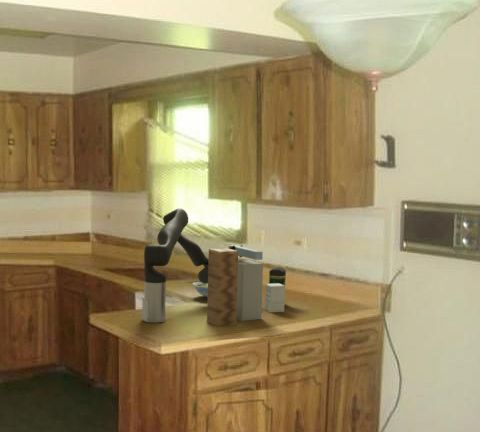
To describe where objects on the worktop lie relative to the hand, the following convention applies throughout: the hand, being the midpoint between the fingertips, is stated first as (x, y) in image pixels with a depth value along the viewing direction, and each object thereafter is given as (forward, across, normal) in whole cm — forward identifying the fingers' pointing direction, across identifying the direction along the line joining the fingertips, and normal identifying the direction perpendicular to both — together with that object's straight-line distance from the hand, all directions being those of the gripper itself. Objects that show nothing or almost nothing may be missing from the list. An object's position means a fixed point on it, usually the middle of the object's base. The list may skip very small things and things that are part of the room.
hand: (238, 247), depth 336 cm
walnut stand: (-3, -16, +34) cm, 38 cm away
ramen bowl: (-50, +10, +8) cm, 51 cm away
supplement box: (-15, +20, +28) cm, 37 cm away
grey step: (-9, 0, +31) cm, 32 cm away
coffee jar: (-25, +29, +22) cm, 44 cm away
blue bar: (+4, 0, +6) cm, 7 cm away
